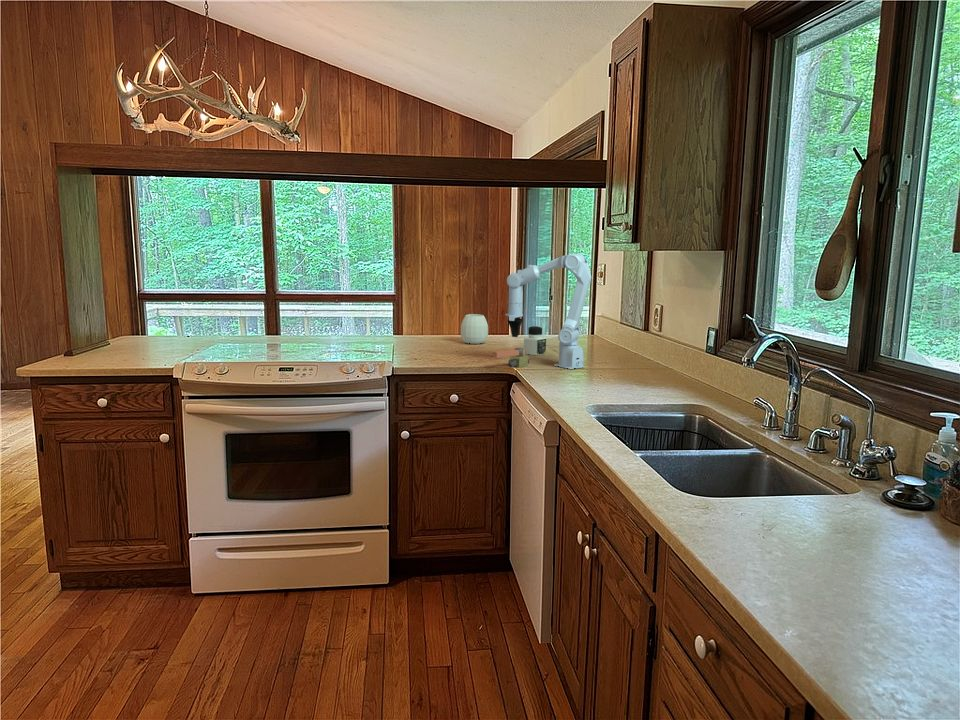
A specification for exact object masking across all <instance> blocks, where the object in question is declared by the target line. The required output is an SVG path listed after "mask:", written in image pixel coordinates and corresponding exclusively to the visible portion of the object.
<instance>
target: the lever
mask: <svg viewBox="0 0 960 720" xmlns="http://www.w3.org/2000/svg"><path fill="white" fill-rule="evenodd" d="M516 355H525V356H526V354H525V349H524V347H523V348H522V347H516V348H514V349H513V348H512V349H504V350H497V351H492V357H493V358H496V359H498V358H506V357H510V356H516Z"/></svg>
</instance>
